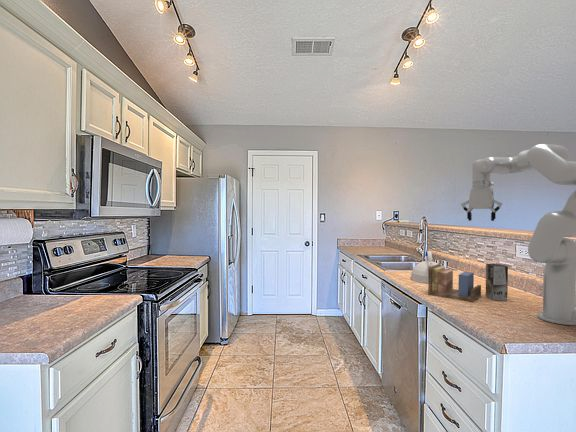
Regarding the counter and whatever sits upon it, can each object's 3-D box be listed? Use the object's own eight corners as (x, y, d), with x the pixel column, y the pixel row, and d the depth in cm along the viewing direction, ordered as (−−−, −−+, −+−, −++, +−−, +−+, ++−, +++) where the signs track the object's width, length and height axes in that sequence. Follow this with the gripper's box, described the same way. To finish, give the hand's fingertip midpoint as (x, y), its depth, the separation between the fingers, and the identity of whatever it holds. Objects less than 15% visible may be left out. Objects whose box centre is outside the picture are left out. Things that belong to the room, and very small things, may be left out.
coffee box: (508, 301, 149) (508, 266, 148) (492, 300, 150) (493, 265, 150) (499, 296, 158) (499, 263, 157) (485, 295, 159) (485, 262, 159)
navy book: (473, 293, 157) (473, 272, 157) (467, 297, 150) (467, 275, 149) (464, 291, 160) (464, 271, 159) (458, 295, 152) (458, 274, 152)
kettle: (411, 283, 186) (412, 252, 186) (409, 276, 206) (409, 248, 206) (450, 285, 180) (450, 253, 180) (444, 278, 200) (444, 249, 200)
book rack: (480, 296, 156) (481, 268, 156) (473, 302, 146) (473, 272, 146) (437, 289, 170) (438, 264, 170) (428, 294, 160) (428, 267, 160)
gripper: (503, 185, 153) (503, 220, 153) (463, 187, 165) (463, 220, 165) (500, 183, 148) (500, 221, 148) (459, 186, 159) (459, 220, 159)
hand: (481, 220), depth 156 cm, fingers open, 9 cm apart
